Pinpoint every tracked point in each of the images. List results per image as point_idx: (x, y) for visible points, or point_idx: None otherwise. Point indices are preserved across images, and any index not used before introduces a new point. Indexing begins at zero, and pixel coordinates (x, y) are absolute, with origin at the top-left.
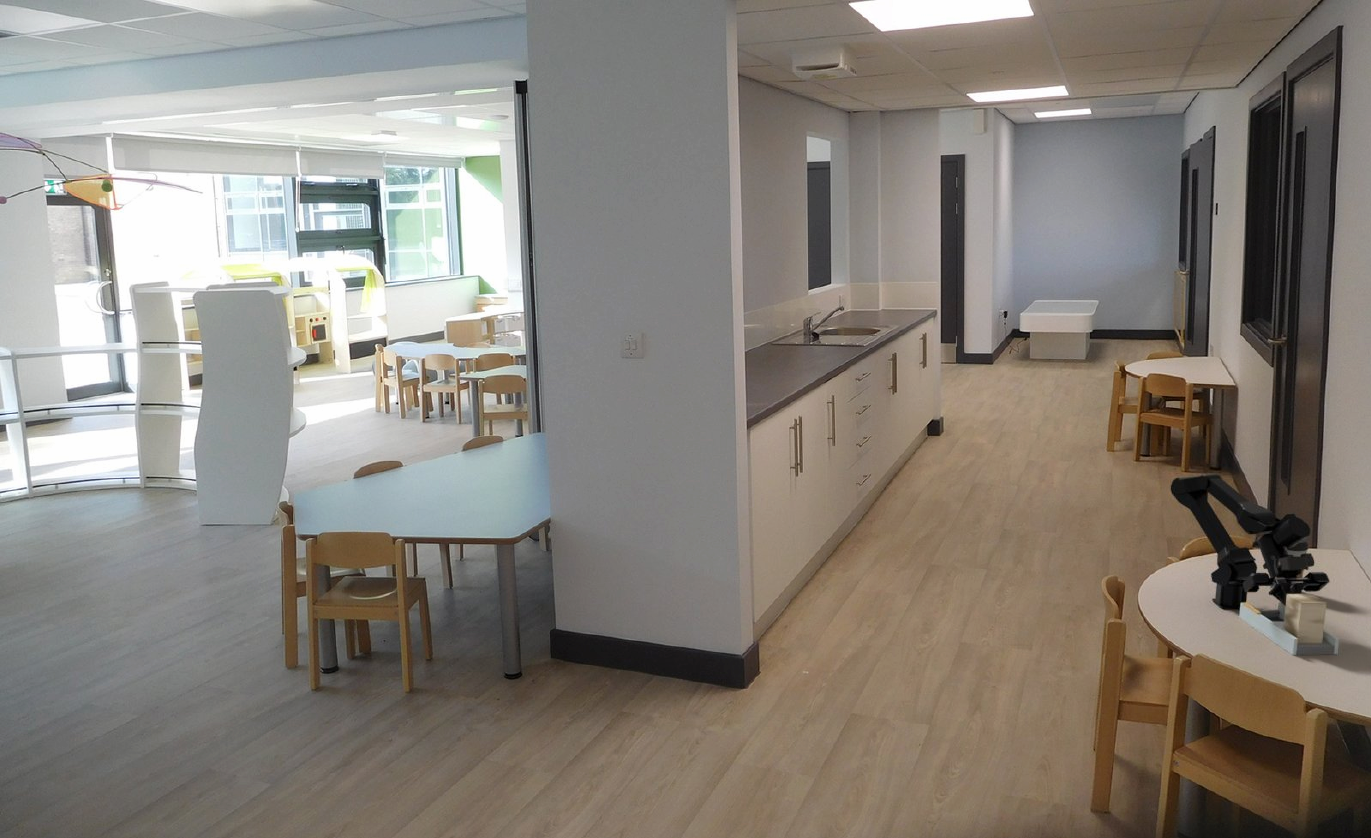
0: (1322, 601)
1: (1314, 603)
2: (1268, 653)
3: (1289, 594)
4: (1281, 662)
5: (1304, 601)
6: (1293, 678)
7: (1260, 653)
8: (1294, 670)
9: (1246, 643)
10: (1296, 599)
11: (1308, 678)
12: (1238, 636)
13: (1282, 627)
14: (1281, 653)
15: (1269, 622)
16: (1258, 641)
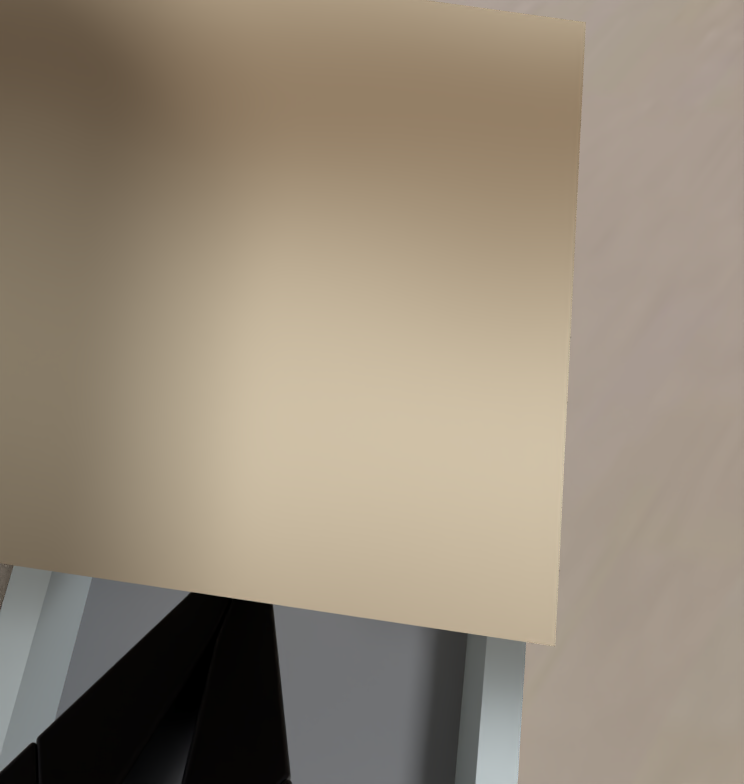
0: (41, 4)
1: (283, 1)
2: (668, 375)
3: (503, 586)
4: (663, 227)
5: (451, 78)
6: (722, 32)
7: (729, 385)
8: (651, 115)
9: (740, 592)
10: (557, 210)
11: (634, 19)
12: (732, 769)
13: (302, 750)
14: (570, 359)
15: (519, 728)
16: (612, 617)
